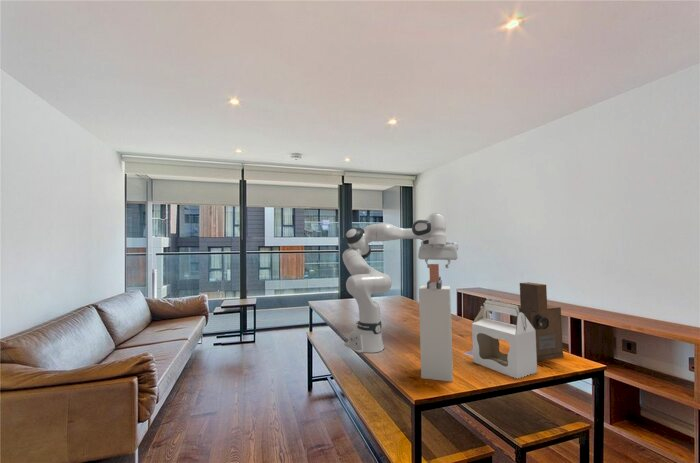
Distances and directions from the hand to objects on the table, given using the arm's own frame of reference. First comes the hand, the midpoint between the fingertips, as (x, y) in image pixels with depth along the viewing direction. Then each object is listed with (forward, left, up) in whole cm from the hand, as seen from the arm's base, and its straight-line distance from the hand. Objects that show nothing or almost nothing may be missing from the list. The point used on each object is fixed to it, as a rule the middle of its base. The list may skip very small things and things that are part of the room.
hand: (437, 267), depth 168 cm
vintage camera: (+40, +20, -42) cm, 61 cm away
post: (+19, -32, -41) cm, 56 cm away
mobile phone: (+18, +6, -42) cm, 46 cm away
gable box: (+34, -4, -42) cm, 54 cm away
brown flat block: (+19, -31, -5) cm, 36 cm away
